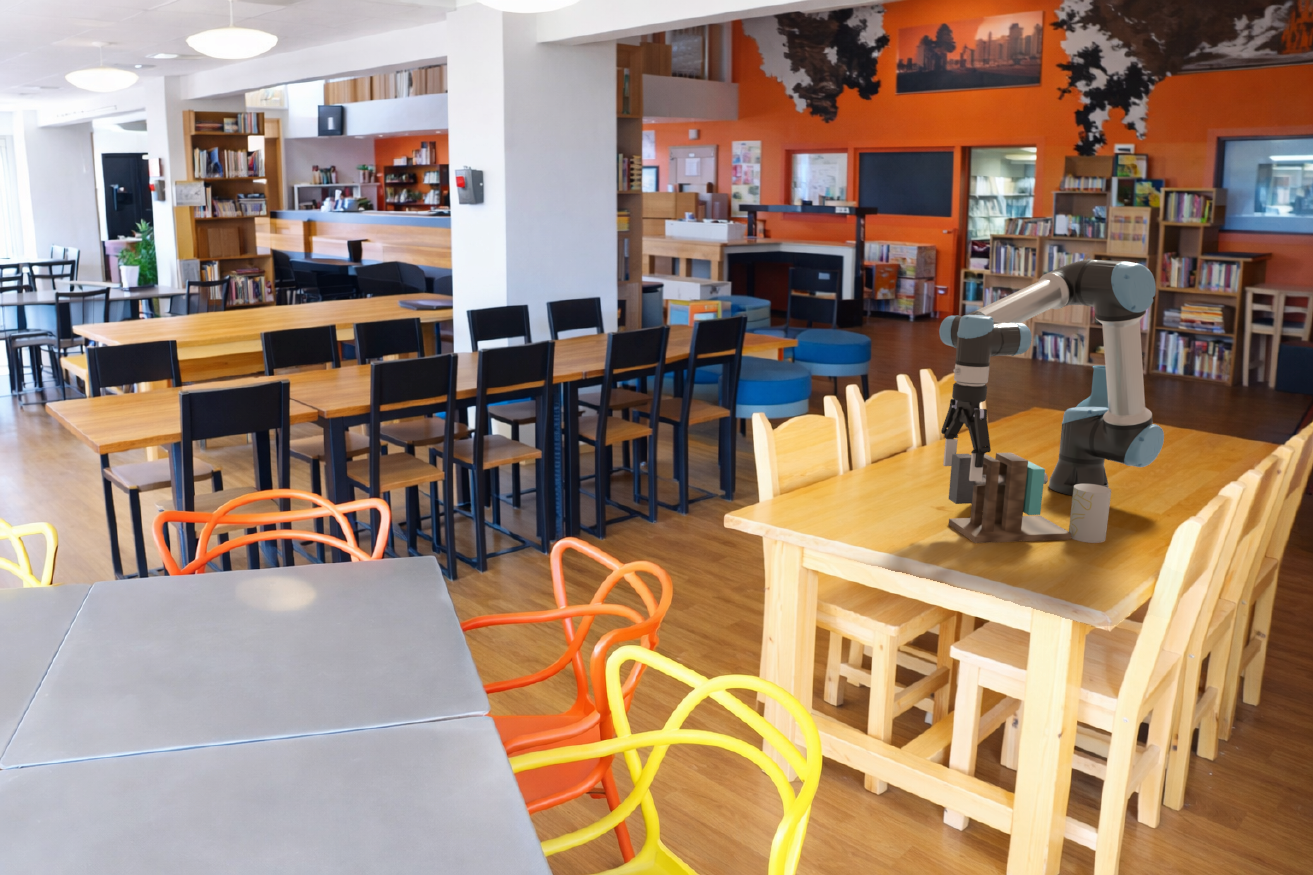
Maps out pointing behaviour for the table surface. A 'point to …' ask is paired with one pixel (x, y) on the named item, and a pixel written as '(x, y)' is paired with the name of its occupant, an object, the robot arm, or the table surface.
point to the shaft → (967, 480)
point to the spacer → (1033, 489)
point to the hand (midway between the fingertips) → (961, 473)
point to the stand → (1004, 507)
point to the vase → (1097, 389)
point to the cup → (1089, 513)
